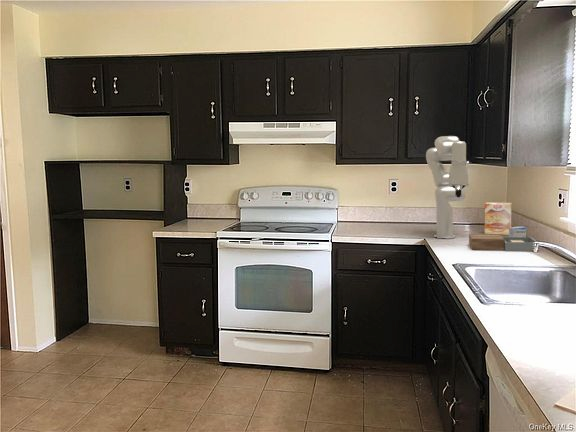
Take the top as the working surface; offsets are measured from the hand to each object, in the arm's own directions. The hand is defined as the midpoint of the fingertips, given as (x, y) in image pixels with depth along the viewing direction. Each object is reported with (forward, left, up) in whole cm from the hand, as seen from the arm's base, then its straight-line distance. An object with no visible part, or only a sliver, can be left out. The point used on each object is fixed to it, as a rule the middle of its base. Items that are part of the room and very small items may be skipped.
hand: (458, 197), depth 275 cm
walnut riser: (+7, +14, -27) cm, 31 cm away
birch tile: (+8, +29, -23) cm, 38 cm away
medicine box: (-12, +33, -27) cm, 45 cm away
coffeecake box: (-43, +27, -27) cm, 58 cm away
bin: (+7, +30, -27) cm, 41 cm away
